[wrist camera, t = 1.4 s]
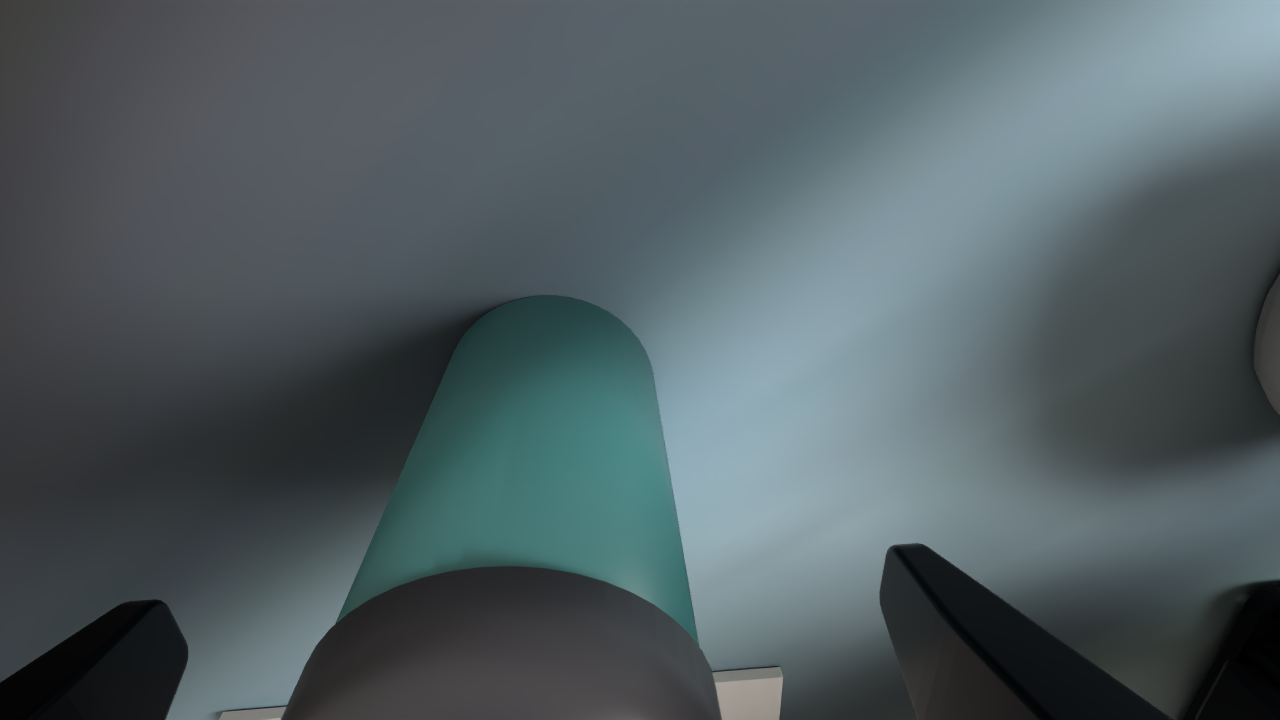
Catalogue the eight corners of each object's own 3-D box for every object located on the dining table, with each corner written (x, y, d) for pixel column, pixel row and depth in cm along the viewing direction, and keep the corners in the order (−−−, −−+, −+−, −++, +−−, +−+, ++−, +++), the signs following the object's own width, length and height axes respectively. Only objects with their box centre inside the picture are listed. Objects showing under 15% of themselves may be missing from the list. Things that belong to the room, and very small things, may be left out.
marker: (657, 283, 12) (753, 691, 5) (661, 471, 14) (737, 970, 6) (423, 296, 12) (141, 740, 4) (460, 485, 14) (306, 1011, 6)
